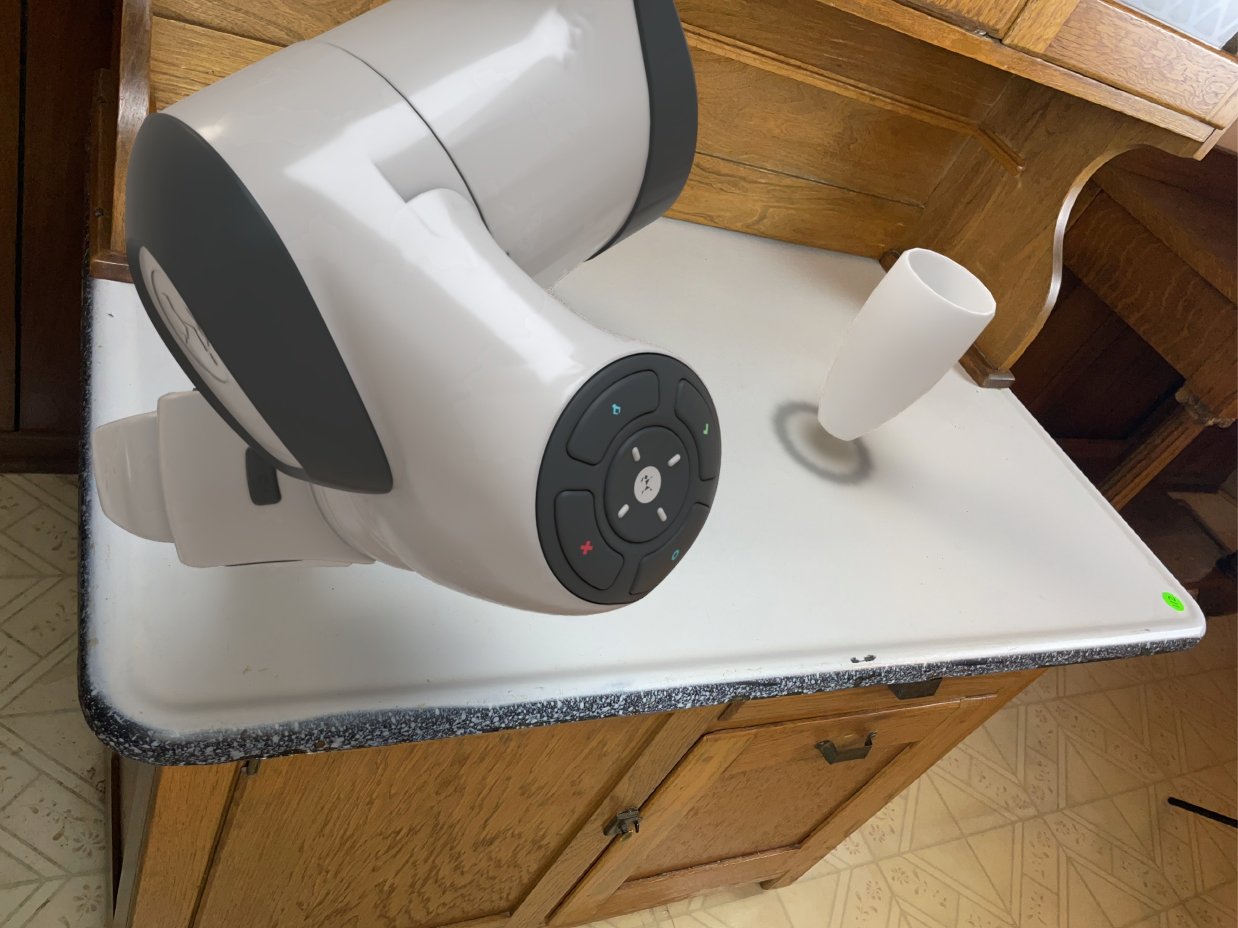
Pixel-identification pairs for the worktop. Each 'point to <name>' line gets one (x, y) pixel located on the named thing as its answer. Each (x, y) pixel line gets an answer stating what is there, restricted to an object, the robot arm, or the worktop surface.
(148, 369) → the worktop surface
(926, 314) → the cup
